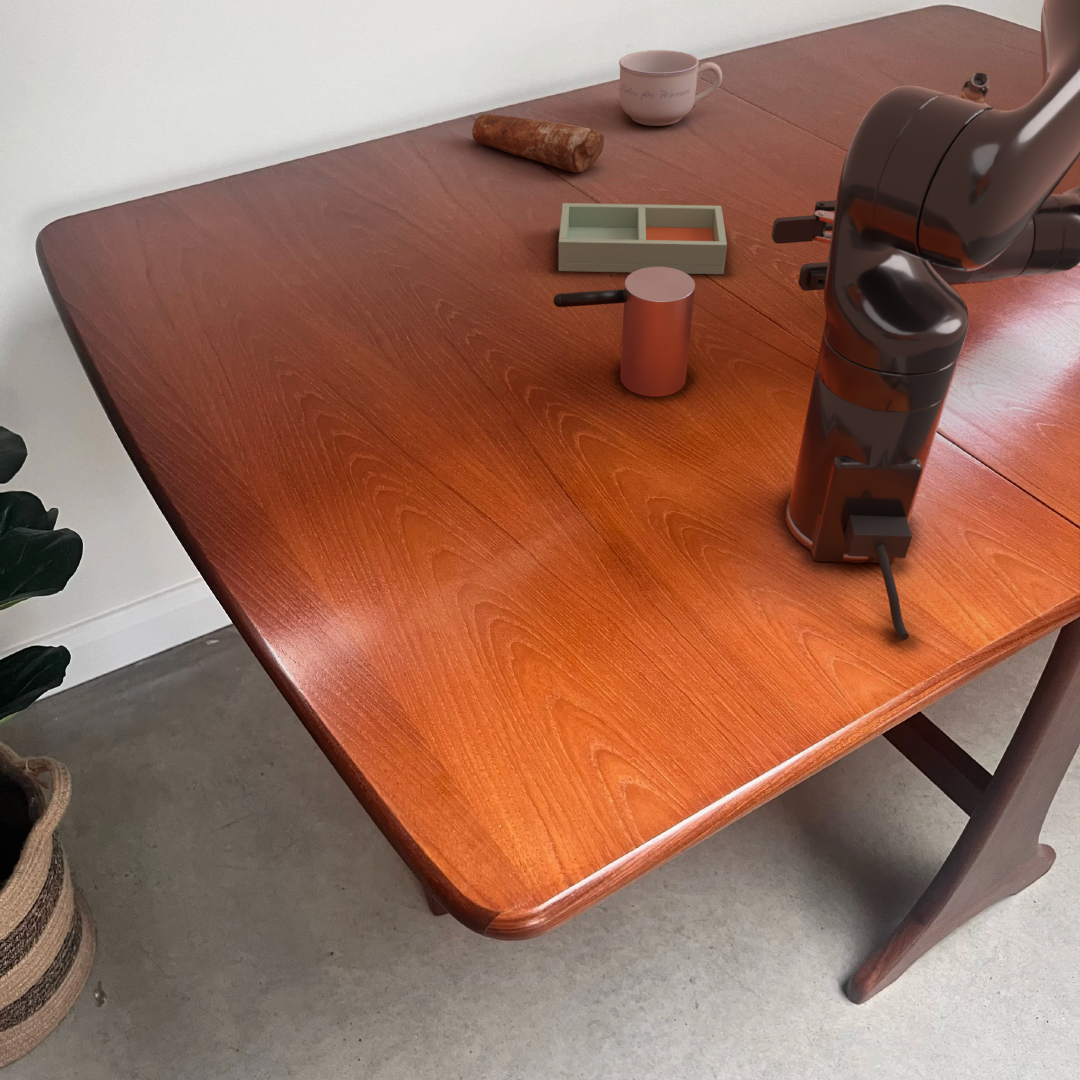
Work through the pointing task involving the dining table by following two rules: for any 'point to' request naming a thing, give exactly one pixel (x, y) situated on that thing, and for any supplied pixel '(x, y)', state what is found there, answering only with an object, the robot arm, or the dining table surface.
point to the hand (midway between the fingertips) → (786, 253)
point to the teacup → (662, 85)
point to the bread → (540, 140)
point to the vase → (975, 88)
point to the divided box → (641, 238)
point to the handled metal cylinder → (649, 327)
